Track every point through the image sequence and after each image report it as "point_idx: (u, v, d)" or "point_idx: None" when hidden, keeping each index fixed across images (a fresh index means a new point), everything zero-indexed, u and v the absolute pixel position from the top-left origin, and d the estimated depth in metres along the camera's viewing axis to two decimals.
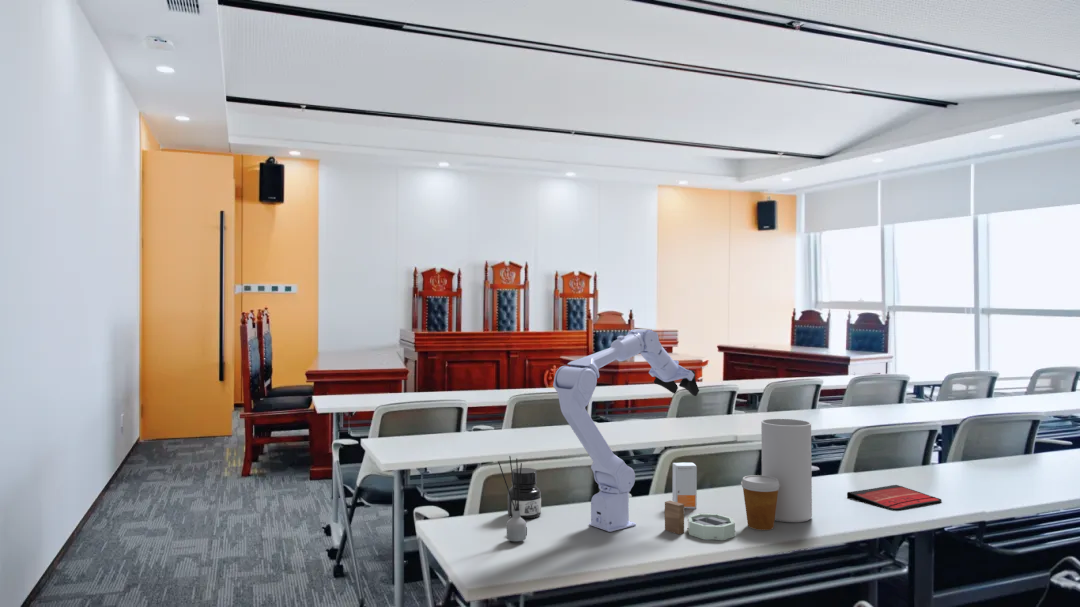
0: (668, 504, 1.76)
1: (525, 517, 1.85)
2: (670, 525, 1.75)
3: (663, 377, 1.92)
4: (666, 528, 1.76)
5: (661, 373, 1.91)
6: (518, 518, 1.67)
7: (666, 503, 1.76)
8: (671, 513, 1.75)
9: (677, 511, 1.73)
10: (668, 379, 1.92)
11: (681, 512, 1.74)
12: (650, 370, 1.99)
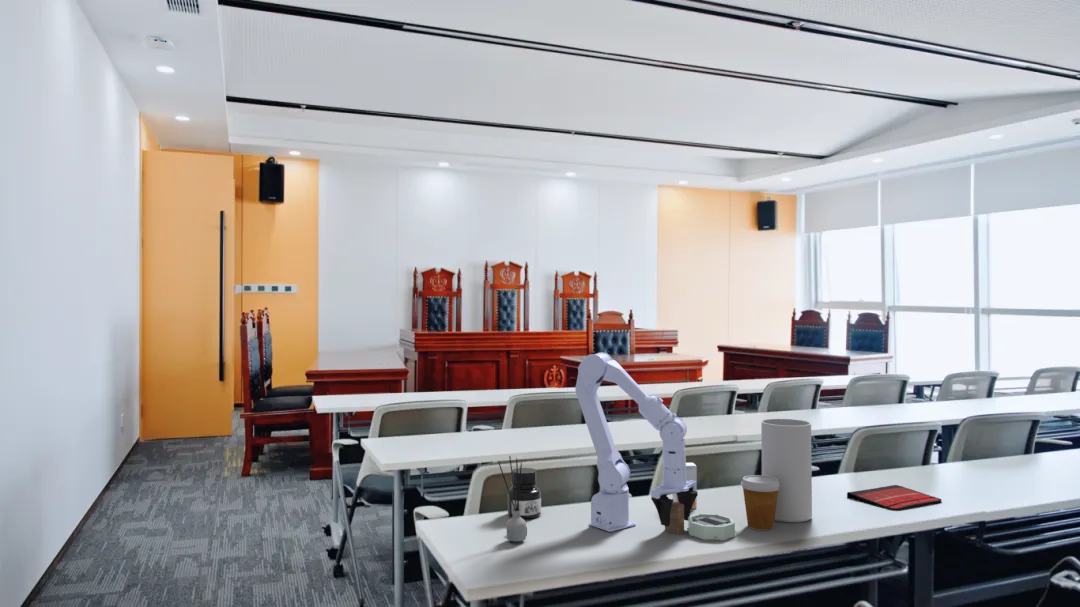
0: None
1: (525, 517, 1.85)
2: (670, 525, 1.75)
3: None
4: (666, 528, 1.76)
5: None
6: (518, 518, 1.67)
7: None
8: (671, 513, 1.75)
9: (677, 511, 1.73)
10: None
11: (681, 512, 1.74)
12: None
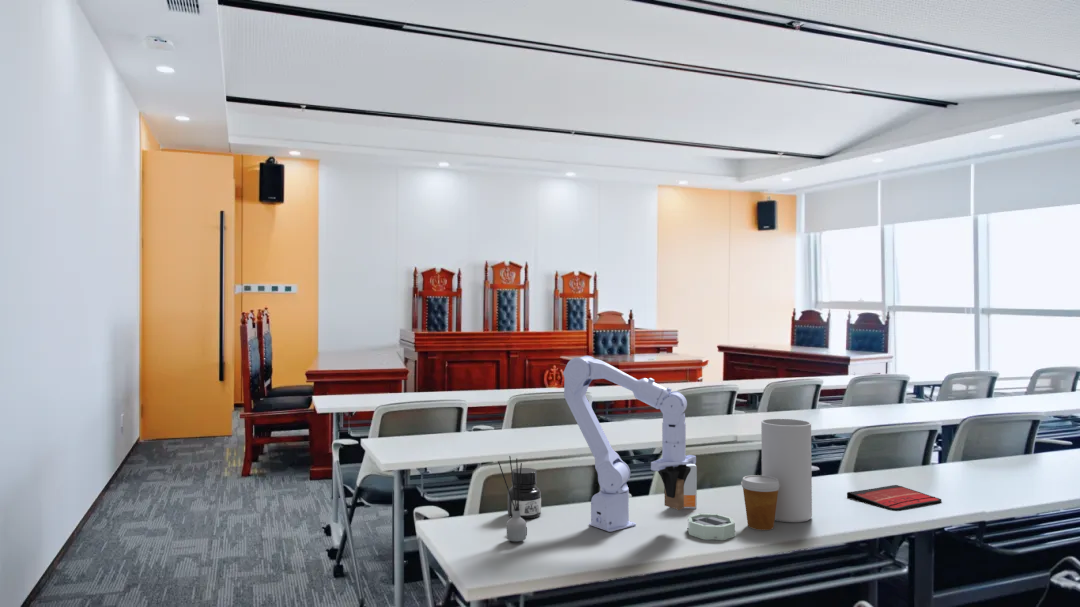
0: None
1: (525, 517, 1.85)
2: (669, 501, 1.75)
3: None
4: (666, 504, 1.76)
5: None
6: (518, 518, 1.67)
7: None
8: None
9: (677, 486, 1.74)
10: None
11: (681, 487, 1.74)
12: (691, 455, 1.80)
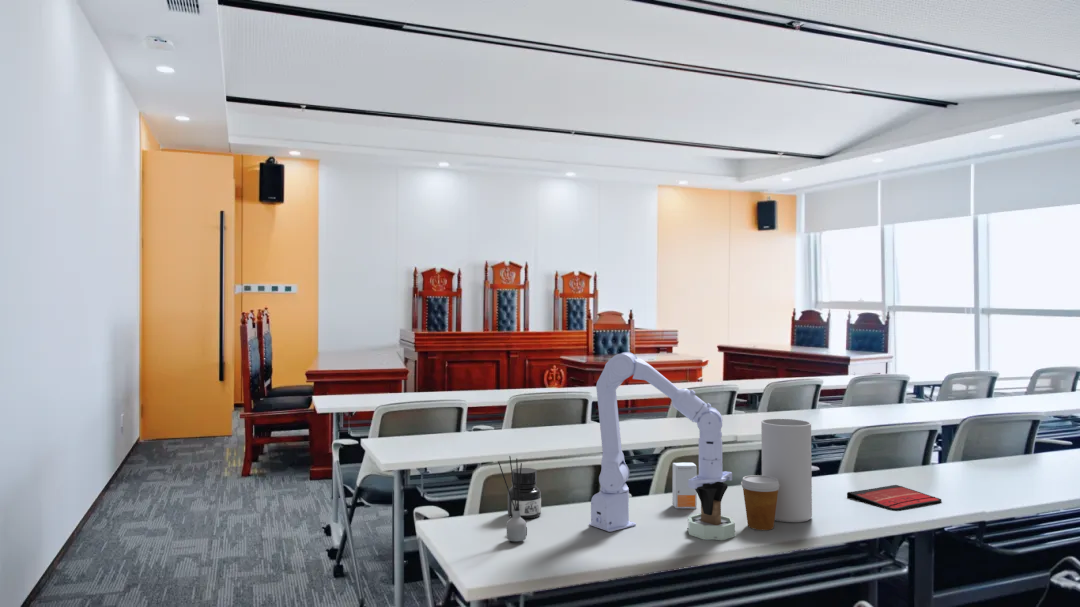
0: None
1: (525, 517, 1.85)
2: None
3: None
4: None
5: None
6: (518, 518, 1.67)
7: None
8: None
9: (714, 508, 1.72)
10: None
11: (718, 509, 1.72)
12: (727, 471, 1.79)
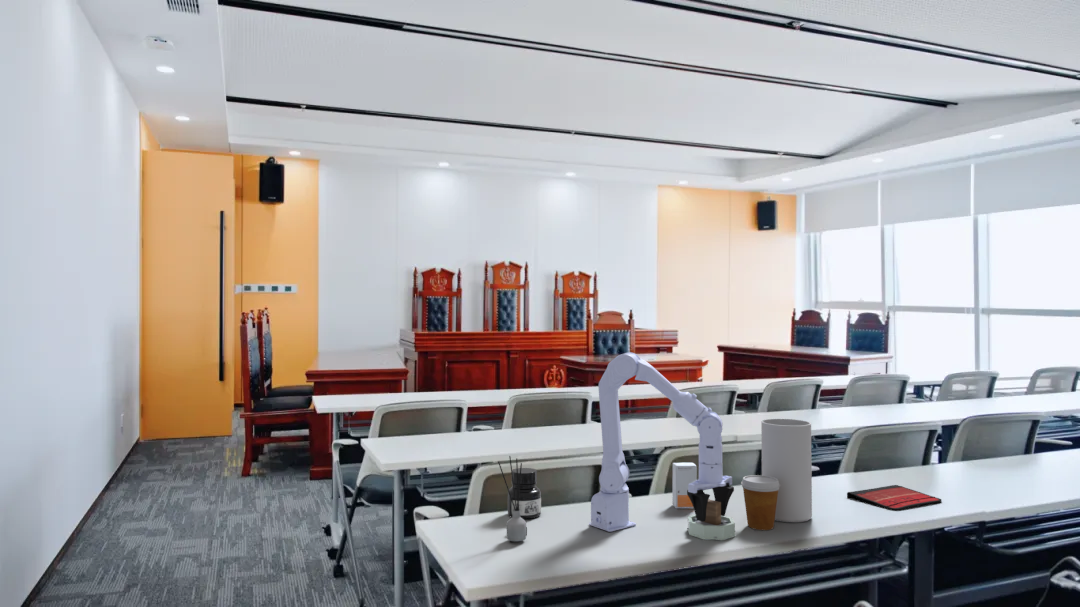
0: None
1: (525, 517, 1.85)
2: None
3: None
4: None
5: None
6: (518, 518, 1.67)
7: None
8: (707, 511, 1.74)
9: (714, 509, 1.72)
10: (698, 479, 1.75)
11: (718, 510, 1.72)
12: (727, 476, 1.79)
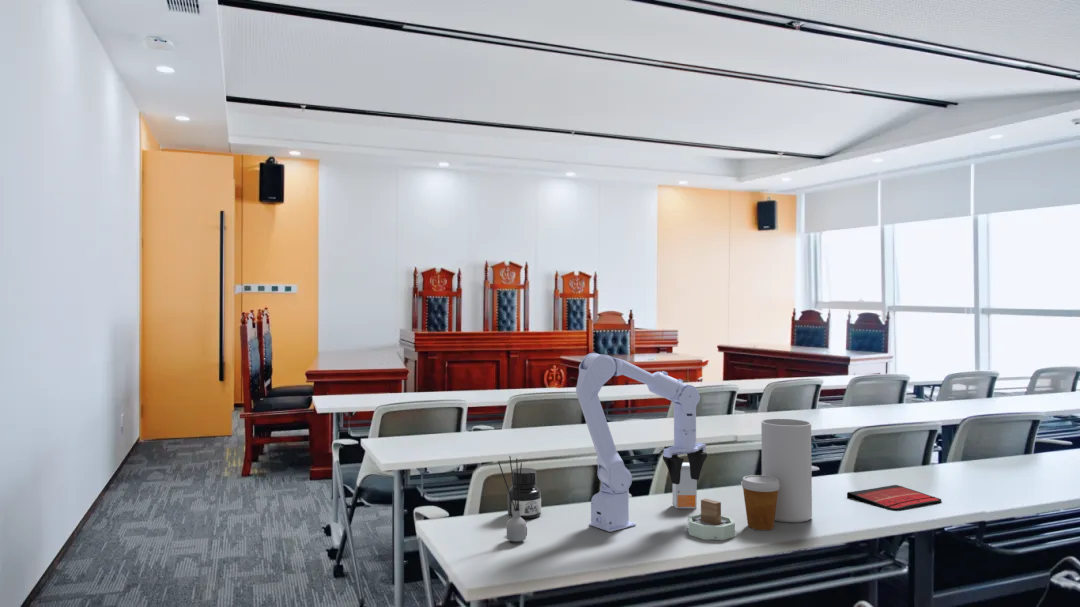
0: (704, 502, 1.74)
1: (525, 517, 1.85)
2: None
3: None
4: None
5: None
6: (518, 518, 1.67)
7: (702, 501, 1.75)
8: (707, 511, 1.74)
9: (714, 509, 1.72)
10: None
11: (718, 510, 1.72)
12: (701, 443, 1.90)
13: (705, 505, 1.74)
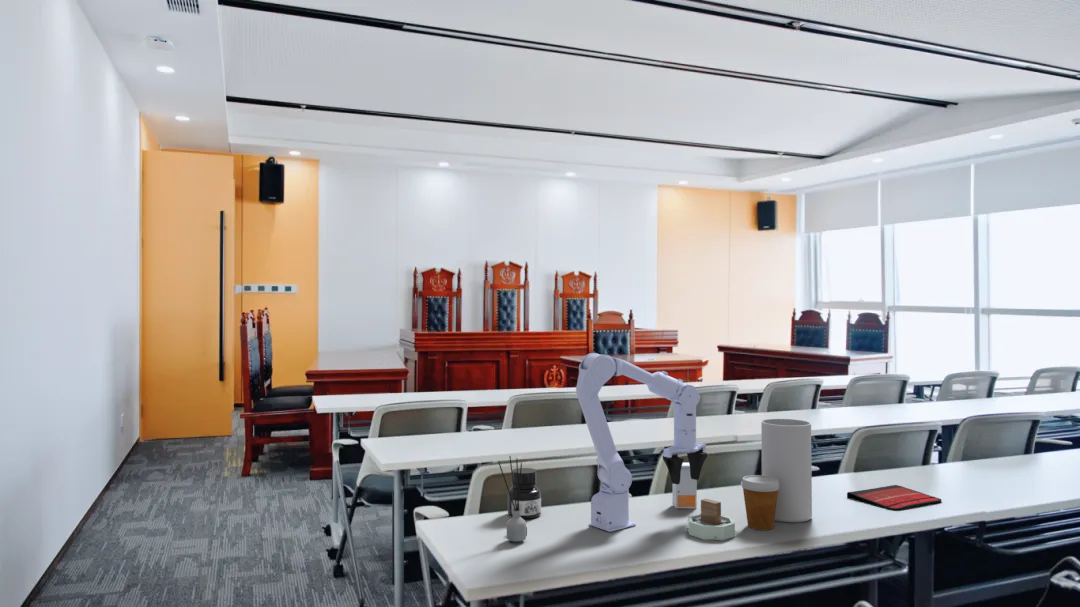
0: (704, 502, 1.74)
1: (525, 517, 1.85)
2: None
3: None
4: None
5: None
6: (518, 518, 1.67)
7: (702, 501, 1.75)
8: (707, 511, 1.74)
9: (714, 509, 1.72)
10: None
11: (718, 510, 1.72)
12: (701, 443, 1.90)
13: (705, 505, 1.74)
